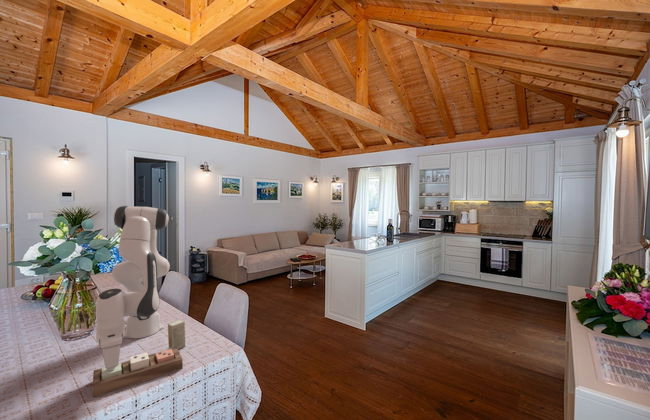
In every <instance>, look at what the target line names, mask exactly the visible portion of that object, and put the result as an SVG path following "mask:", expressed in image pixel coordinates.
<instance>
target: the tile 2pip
mask: <svg viewBox="0 0 650 420" xmlns="http://www.w3.org/2000/svg"><path fill="white" fill-rule="evenodd" d="M148 355H149V353H148V352H147V351H146V352H143V353H140V354H135V355H132V356H130V357H129V360H130V371H134V370H138V369H141V368H144V367H148V366H149V356H148Z"/></svg>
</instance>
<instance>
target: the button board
mask: <svg viewBox="0 0 650 420" xmlns="http://www.w3.org/2000/svg"><path fill="white" fill-rule="evenodd" d="M162 351H163V350H162ZM162 351H160V352H162ZM172 351H173V353H174V359H171V360H168V361H164V362H161V363H158V364H156V353H157V352H155V353H151V354H148V356H149V366H148V367H144V368H141V369H138V370H134V371H130V359H129V360H127V361H123V362H120V363H121V369H122V374H121V375H118V376H114V377H111V378H108V379H104V380H102V368H103V367H101V368H97V369H94V370H93V373H92V374H93V375H92V398H95V397H99V396H101V395H104V394H107V393H110V392H113V391H117V390H120V389H122V388H126V387H129V386H132V385H135V384H138V383H142V382H145V381H148V380H151V379H155V378H157V377H161V376H164V375H167V374H169V373H173V372H176V371H179V370H182V369H183V368H184V367H183V357H182V355H181V353H180V350H179V349H177V347H176V348H172Z"/></svg>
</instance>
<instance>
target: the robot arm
mask: <svg viewBox="0 0 650 420" xmlns="http://www.w3.org/2000/svg"><path fill="white" fill-rule="evenodd" d="M169 219H170V216H169V214H168V211H167V210H166V209H164V208H159V207H158V208H157V207H153V206H152V207H150V206H128V205H121V206H118V207H117V208H116V210H115V211H114V213H113V223H114V225H115V226H116V227H117V228H119V229H120V230H121V233H120V238H119V242H118V253H119V255H120V257H121V258H122V259H123V260H125V261H123V262H119V263H117V264H115V266H114V267H113V268H112V270H111V277H112V278H113V279H112V280H114V282H116V283H118V284H120V285H122V286H123V287H124V288H125V289H126V290H127V291H123V290H122V289H121V288H110V289H106V290H104V291H102V292H100V293H99V294H98V295H97V299H96V305H95V318H96V321H97V323H96V326H95V327H96V328H95V331H96V332H95V333H96V335H95V336H96V342H97V343H98V344H99V348H100V349H101V350H102V356H103V363H104V367H106V369H109V371H111V370H114V369H115V367H117V366H118V363H120V362H119V361H120V353H121V347H122V346H121V345H122V344H123V342H124V341H123V339H125V338H127V339H128V338H129V339H141V338H142V339H143V338H145V337H150V336H152V335H155V334H156V333H158V332H159V331H161V330H162V329H164V325H163V324H162V323H161V320H160V317H161V316H160V313H159V312H157V311H158V310H159V307H160V303H161V302H160V301H161V300H160V294H159V285H158V284H159V283H158V278H161V277H164V276H166V275H168V273H169V271H170V267H171V265H170V262H169V260H167V258H165V257H164V256H162V255H161V254H160V253H159V252H158V248H157V240H158V239H157V237H158V236H157V235H158V231H161V230H164V229H165V228H166V227H167V226H168V223H169ZM142 281H143V284H142ZM124 317H128V318H127V319H125V318H124Z"/></svg>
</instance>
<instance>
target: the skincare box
mask: <svg viewBox="0 0 650 420" xmlns="http://www.w3.org/2000/svg"><path fill="white" fill-rule="evenodd" d="M185 325H186V324H185V321H184V320H182V319H178V320H175V321H172V322H169V323H167V332H168V333H167V337H168V350H169V349H172V348H176V347H177V349H178V350H179V349H182V348H185V347H186V330H185V329H186V326H185Z"/></svg>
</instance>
